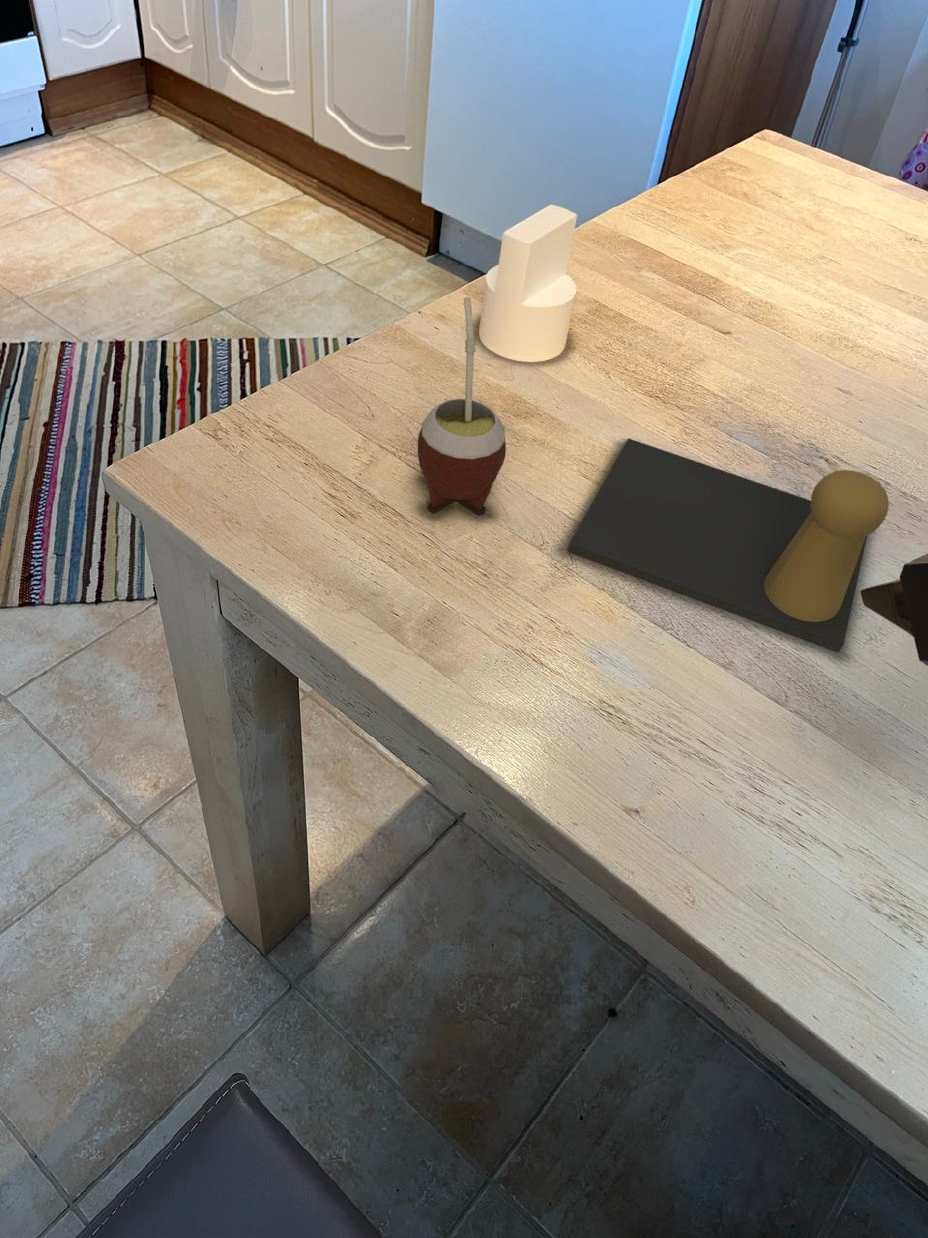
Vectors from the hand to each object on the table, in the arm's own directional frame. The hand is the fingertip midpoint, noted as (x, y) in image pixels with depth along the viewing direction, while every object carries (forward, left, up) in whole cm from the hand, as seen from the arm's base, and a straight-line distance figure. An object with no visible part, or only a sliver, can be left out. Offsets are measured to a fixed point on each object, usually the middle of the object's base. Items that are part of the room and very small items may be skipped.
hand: (909, 576), depth 65 cm
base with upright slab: (+38, -28, -9) cm, 48 cm away
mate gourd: (+34, -2, -9) cm, 36 cm away
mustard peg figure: (+5, -4, -8) cm, 10 cm away
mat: (+12, -8, -9) cm, 17 cm away
